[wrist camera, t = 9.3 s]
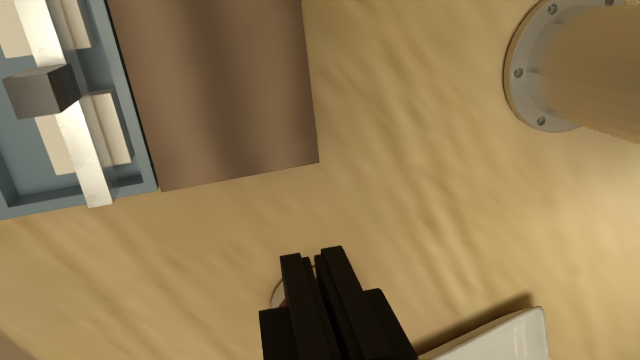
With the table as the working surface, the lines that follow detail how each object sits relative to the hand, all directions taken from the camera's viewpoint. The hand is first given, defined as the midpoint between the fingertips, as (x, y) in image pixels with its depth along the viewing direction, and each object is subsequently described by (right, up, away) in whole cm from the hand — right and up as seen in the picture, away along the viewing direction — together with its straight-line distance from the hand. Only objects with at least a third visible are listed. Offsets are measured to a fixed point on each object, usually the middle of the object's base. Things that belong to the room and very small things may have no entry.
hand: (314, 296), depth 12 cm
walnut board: (-7, +13, +20) cm, 25 cm away
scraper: (-16, +10, +16) cm, 24 cm away
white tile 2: (-17, +7, +20) cm, 27 cm away
